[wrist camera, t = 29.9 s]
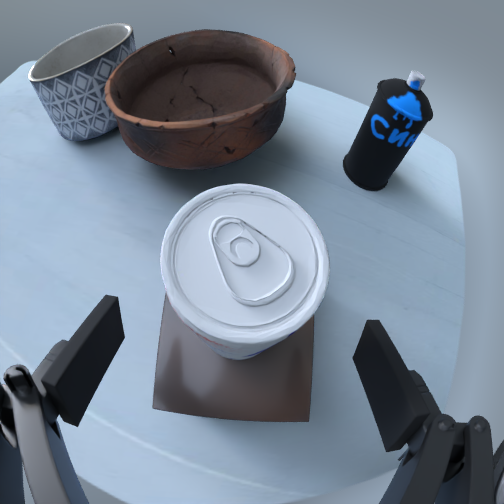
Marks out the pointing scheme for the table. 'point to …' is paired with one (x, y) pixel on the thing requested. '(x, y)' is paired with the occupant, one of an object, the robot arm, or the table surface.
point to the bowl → (200, 97)
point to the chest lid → (232, 376)
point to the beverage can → (244, 268)
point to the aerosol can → (388, 131)
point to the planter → (82, 80)
